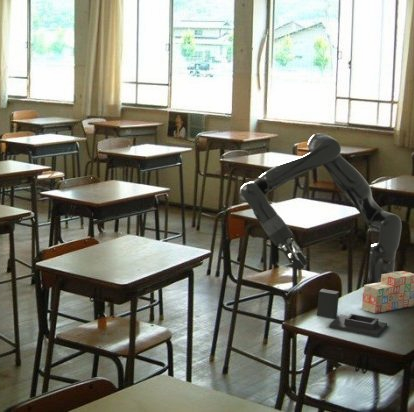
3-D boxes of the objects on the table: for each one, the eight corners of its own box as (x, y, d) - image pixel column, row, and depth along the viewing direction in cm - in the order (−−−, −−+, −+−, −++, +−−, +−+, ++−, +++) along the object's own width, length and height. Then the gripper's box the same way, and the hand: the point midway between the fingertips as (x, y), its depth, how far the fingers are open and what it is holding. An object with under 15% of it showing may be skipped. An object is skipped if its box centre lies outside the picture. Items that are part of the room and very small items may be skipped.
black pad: (320, 312, 314) (322, 288, 312) (336, 315, 311) (339, 291, 309) (316, 315, 311) (318, 291, 309) (333, 318, 307) (335, 294, 306)
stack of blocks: (375, 314, 314) (378, 281, 311) (361, 309, 319) (364, 276, 317) (413, 305, 325) (417, 274, 322) (399, 301, 330) (403, 270, 328)
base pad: (340, 317, 309) (341, 308, 308) (386, 326, 301) (387, 317, 300) (328, 327, 298) (329, 318, 297) (377, 337, 289) (377, 328, 288)
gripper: (281, 226, 305) (309, 264, 303) (288, 221, 318) (315, 257, 316) (264, 238, 308) (291, 276, 306) (272, 232, 321) (298, 268, 319)
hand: (303, 266), depth 311 cm, fingers open, 8 cm apart
